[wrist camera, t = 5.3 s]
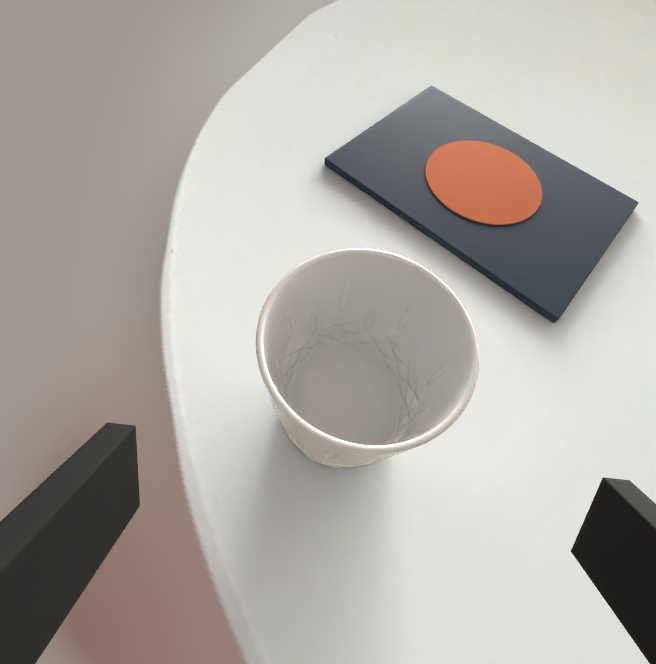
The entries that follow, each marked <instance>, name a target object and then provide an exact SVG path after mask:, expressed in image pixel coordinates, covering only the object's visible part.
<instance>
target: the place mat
mask: <svg viewBox="0 0 656 664" xmlns="http://www.w3.org/2000/svg"><path fill="white" fill-rule="evenodd" d="M325 165H327V166H328V167H330V168H331V169H332V170H334V171H335V172H337V173H338V174H340V175H341V176H343V177H344V178H345V179H347V180H348V181H350V182H351V183H353V184H354V185H356V186H357V187H358V188H360V189H361V190H363V191H364V192H366V193H367V194H368V195H370V196H371V197H373V198H374V199H376V200H377V201H379V202H380V203H381V204H383V205H384V206H386V207H387V208H389V209H390V210H392V211H393V212H394V213H396V214H397V215H399V216H400V217H402V218H403V219H405V220H406V221H407V222H409V223H410V224H412V225H413V226H415V227H416V228H418V229H419V230H420V231H422V232H423V233H425V234H426V235H428V236H429V237H430V238H432V239H433V240H435V241H436V242H438V243H439V244H441V245H442V246H443V247H445V248H446V249H448V250H449V251H451V252H452V253H454V254H455V255H456V256H458V257H459V258H461V259H462V260H464V261H465V262H467V263H468V264H469V265H471V266H472V267H474V268H475V269H477V270H478V271H479V272H481V273H482V274H484V275H485V276H487V277H488V278H490V279H491V280H492V281H494V282H495V283H497V284H498V285H500V286H501V287H503V288H504V289H505V290H507V291H508V292H510V293H511V294H513V295H514V296H516V297H517V298H518V299H520V300H521V301H523V302H524V303H526V304H527V305H528V306H530V307H531V308H533V309H534V310H536V311H537V312H539V313H540V314H541V315H543V316H544V317H546V318H547V319H549V320H550V321H552V322H553V323H554V322H555V321H557V320H558V319H559V318H560V316H561V315H562V314H563V312H564V311H565V309H566V308H567V306H568V305H569V303H570V302H571V300H572V299H573V298H574V296H575V295H576V293H577V292H578V290H579V289H580V287H581V286H582V284H583V283H584V282H585V280H586V279H587V277H588V276H589V274H590V273H591V271H592V270H593V268H594V267H595V266H596V264H597V263H598V261H599V260H600V258H601V257H602V255H603V254H604V252H605V251H606V249H607V248H608V247H609V245H610V244H611V242H612V241H613V239H614V238H615V236H616V235H617V233H618V232H619V231H620V229H621V228H622V226H623V225H624V223H625V222H626V220H627V219H628V217H629V216H630V215H631V213H632V212H633V210H634V209H635V207H636V206H637V204H638V202H637V201H635V200H633V199H632V198H630V197H628V196H626V195H625V194H623V193H621V192H619V191H617V190H616V189H614V188H612V187H610V186H609V185H607V184H605V183H603V182H601V181H600V180H598V179H596V178H594V177H593V176H591V175H589V174H587V173H586V172H584V171H582V170H580V169H578V168H577V167H575V166H573V165H571V164H570V163H568V162H566V161H564V160H562V159H561V158H559V157H557V156H555V155H554V154H552V153H550V152H548V151H547V150H545V149H543V148H541V147H539V146H538V145H536V144H534V143H532V142H531V141H529V140H527V139H525V138H523V137H522V136H520V135H518V134H516V133H515V132H513V131H511V130H509V129H507V128H506V127H504V126H502V125H500V124H499V123H497V122H495V121H493V120H492V119H490V118H488V117H486V116H484V115H483V114H481V113H479V112H477V111H476V110H474V109H472V108H470V107H468V106H467V105H465V104H463V103H461V102H460V101H458V100H456V99H454V98H453V97H451V96H449V95H447V94H445V93H444V92H442V91H440V90H438V89H437V88H435V87H433V86H430V87H429V88H427V89H426V90H424V91H423V92H421V93H420V94H418V95H417V96H415V97H414V98H412V99H411V100H410V101H408V102H407V103H405V104H404V105H402V106H401V107H399V108H398V109H396V110H395V111H393V112H392V113H390V114H389V115H388V116H386V117H385V118H383V119H382V120H380V121H379V122H377V123H376V124H374V125H373V126H371V127H370V128H369V129H367V130H366V131H364V132H363V133H361V134H360V135H358V136H357V137H355V138H354V139H352V140H351V141H349V142H348V143H347V144H345V145H344V146H342V147H341V148H339V149H338V150H336V151H335V152H333V153H332V154H330V155H329V156H328V157H326V158H325Z"/></svg>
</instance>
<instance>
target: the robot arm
mask: <svg viewBox="0 0 656 664" xmlns="http://www.w3.org/2000/svg"><path fill="white" fill-rule="evenodd" d="M139 506H140V502H139V483H138V463H137V445H136V428H135V426H133V425H123V424H115V423H106V424H105V425H104V426H103V427H102V428H101V429H100V430H99V431H98V432H97V433H96V434H94V435H93V436H92V437H91V438H90V439H89V440H88V441H87V442H86V443H85V444H84V445H83V446H81V447H80V448H79V449H78V450H77V451H76V452H75V453H74V454H73V455H72V456H71V457H70V458H69V459H68V460H66V461H65V462H64V463H63V464H62V465H61V466H60V467H59V468H58V469H57V470H56V471H55V472H53V473H52V474H51V475H50V476H49V477H48V478H47V479H46V480H45V481H44V482H43V483H42V484H40V486H38V487H37V488H36V489H35V490H34V491H33V492H32V493H31V494H30V495H29V496H28V497H26V498H25V499H24V500H23V501H22V502H21V503H20V504H19V505H18V506H17V507H16V508H15V509H13V510H12V511H11V512H10V513H9V514H8V515H7V516H6V517H5V518H4V519H3V520H2V521H1V522H0V664H35V663H36V662H37V660H38V658H39V657H40V656H41V654H42V653H43V651H44V650H45V648H46V647H47V645H48V644H49V642H50V641H51V639H52V637H53V636H54V634H55V633H56V631H57V630H58V628H59V627H60V625H61V624H62V622H63V621H64V619H65V618H66V616H67V615H68V613H69V612H70V610H71V609H72V607H73V606H74V604H75V603H76V601H77V600H78V598H79V597H80V595H81V594H82V592H83V591H84V589H85V588H86V586H87V585H88V583H89V582H90V580H91V579H92V577H93V576H94V574H95V573H96V571H97V569H98V568H99V567H100V565H101V563H102V562H103V560H104V559H105V557H106V556H107V554H108V553H109V551H110V550H111V548H112V547H113V545H114V544H115V542H116V541H117V539H118V538H119V536H120V535H121V533H122V532H123V530H124V529H125V527H126V526H127V524H128V523H129V521H130V520H131V518H132V516H133V515H134V514H135V512H136V511H137V509H138V508H139ZM571 552H572V553H573V555H574V556H575V558H576V559H577V561H578V562H579V563H580V565H581V566H582V568H583V569H584V571H585V572H586V573H587V575H588V576H589V578H590V579H591V580H592V582H593V583H594V585H595V586H596V588H597V589H598V590H599V592H600V593H601V595H602V596H603V598H604V599H605V600H606V602H607V603H608V605H609V606H610V608H611V609H612V610H613V612H614V613H615V615H616V616H617V617H618V619H619V620H620V622H621V623H622V625H623V626H624V627H625V629H626V630H627V632H628V633H629V635H630V636H631V637H632V639H633V640H634V642H635V643H636V645H637V646H638V647H639V649H640V650H641V652H642V653H643V654H644V656H645V657H646V659H647V660H648V662H649V663H650V664H656V504H655V503H654V502H653V501H652V500H650V499H649V498H648V497H647V496H646V495H645V494H644V493H643V492H642V491H641V490H639V489H638V488H637V487H636V486H635V485H634V484H633V483H632V482H631V481H629V480H621V479H611V478H603V479H602V481H601V483H600V486H599V488H598V490H597V493H596V495H595V497H594V499H593V502H592V504H591V506H590V509H589V511H588V513H587V515H586V518H585V520H584V522H583V525H582V527H581V529H580V532H579V534H578V536H577V538H576V541H575V543H574V545H573V548H572V550H571Z"/></svg>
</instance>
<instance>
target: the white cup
mask: <svg viewBox="0 0 656 664" xmlns="http://www.w3.org/2000/svg"><path fill="white" fill-rule="evenodd" d="M256 354H257V360H258V365H259V369H260V372H261V375H262V378H263V381H264V383H265V385H266V388H267V390H268V393H269V395H270V398H271V401H272V403H273V406H274V409H275V411H276V413H277V415H278V418H279V420H280V421H281V423H282V425H283V427H284V429H285V431H286V433H287V434H288V436H289V437H290V440H291V441H292V442H293V443H294V444H295V445H296V446H297V447H298V448H299V449H300V450H301V451H302V452H303V453H304V454H305V455H306V456H307V458H308V459H310V460H312V461H315V462H318V463H321V464H324V465H326V466H329V467H332V468H335V469H337V468H344V467H357V466H363V465H367V464H371V463H374V462H378V461H381V460H383V459H386V458H389V457H391V456H394V455H396V454H399V453H401V452H404V451H407V450H409V449H412V448H415V447H418V446H420V445H423V444H425V443H427V442H429V441H431V440H432V439H434V438H436V437H437V436H439V435H440V434H442V433H443V432H444V431H445V430H447V429H448V428H449V427H450V426H451V425H452V424H453V423H454V422H455V421H456V420H457V419H458V418H459V416H460V415H461V414H462V412H463V411H464V409H465V408H466V406H467V404H468V403H469V401H470V399H471V396H472V394H473V392H474V389H475V386H476V382H477V377H478V371H479V348H478V342H477V337H476V333H475V330H474V327H473V324H472V322H471V319H470V317H469V315H468V313H467V311H466V310H465V308H464V306H463V305H462V303H461V302H460V300H459V299H458V297H457V296H456V295H455V294H454V292H453V291H452V290H451V289H450V288H449V287H448V286H447V285H446V284H445V283H444V282H443V281H442V280H441V279H440V278H438V277H437V276H436V275H435V274H433V273H432V272H430V271H429V270H428V269H426V268H424V267H423V266H421V265H419V264H418V263H416V262H414V261H412V260H409V259H407V258H405V257H402V256H399V255H396V254H393V253H390V252H385V251H381V250H374V249H362V248H354V249H342V250H336V251H331V252H327V253H324V254H321V255H318V256H316V257H313V258H311V259H309V260H307V261H305V262H303V263H301V264H300V265H298V266H297V267H295V268H294V269H292V270H291V271H290V272H289V273H287V274H286V275H285V276H284V277H283V278H282V279H281V280H280V281H279V282H278V284H277V285H276V286H275V287H274V289H273V290H272V291H271V293H270V294H269V296H268V298H267V300H266V302H265V304H264V306H263V308H262V311H261V314H260V317H259V320H258V325H257V331H256Z"/></svg>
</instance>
